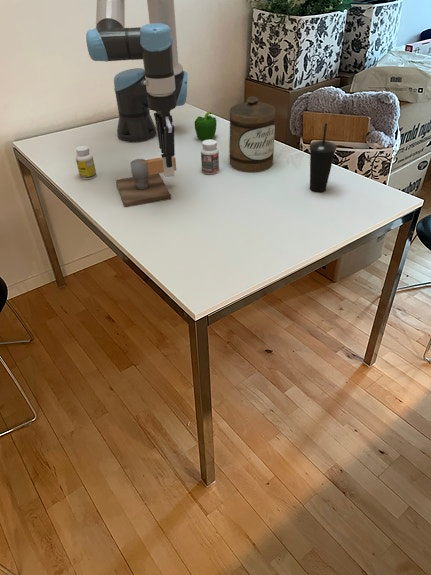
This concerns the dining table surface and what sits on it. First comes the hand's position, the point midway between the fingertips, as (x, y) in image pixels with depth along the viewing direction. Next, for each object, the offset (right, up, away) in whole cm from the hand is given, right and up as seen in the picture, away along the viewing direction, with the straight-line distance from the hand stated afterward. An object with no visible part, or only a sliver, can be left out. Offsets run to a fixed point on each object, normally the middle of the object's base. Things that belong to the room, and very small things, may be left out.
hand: (169, 175), depth 134 cm
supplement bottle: (-29, +4, +17) cm, 33 cm away
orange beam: (-5, +2, +5) cm, 7 cm away
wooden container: (+26, +9, +22) cm, 35 cm away
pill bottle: (+12, +6, +17) cm, 22 cm away
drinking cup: (+45, -3, +6) cm, 45 cm away
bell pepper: (+10, +23, +39) cm, 46 cm away
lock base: (-9, -3, +7) cm, 12 cm away
